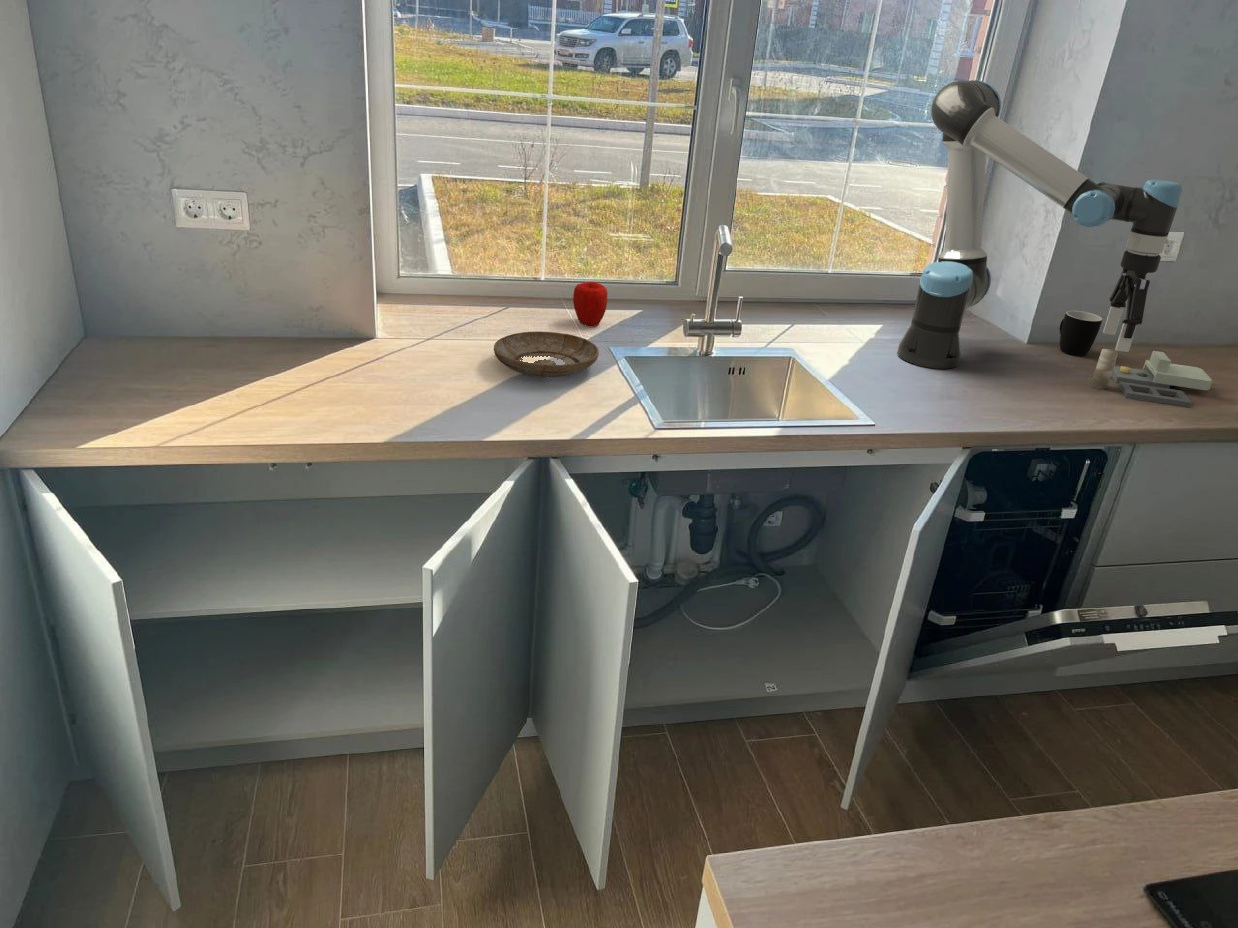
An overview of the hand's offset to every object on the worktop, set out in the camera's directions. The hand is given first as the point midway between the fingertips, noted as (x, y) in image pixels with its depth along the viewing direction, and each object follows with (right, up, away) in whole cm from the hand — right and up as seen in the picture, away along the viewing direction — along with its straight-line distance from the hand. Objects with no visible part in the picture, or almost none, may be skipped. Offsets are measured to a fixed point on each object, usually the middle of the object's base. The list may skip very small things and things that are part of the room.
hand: (1115, 342), depth 216 cm
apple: (-125, +7, +19) cm, 126 cm away
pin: (-1, -10, +5) cm, 11 cm away
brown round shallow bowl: (-133, -7, -10) cm, 134 cm away
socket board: (+10, -13, +2) cm, 16 cm away
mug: (+4, +2, +30) cm, 31 cm away
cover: (+20, -8, +10) cm, 24 cm away
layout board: (+12, -8, +12) cm, 19 cm away
